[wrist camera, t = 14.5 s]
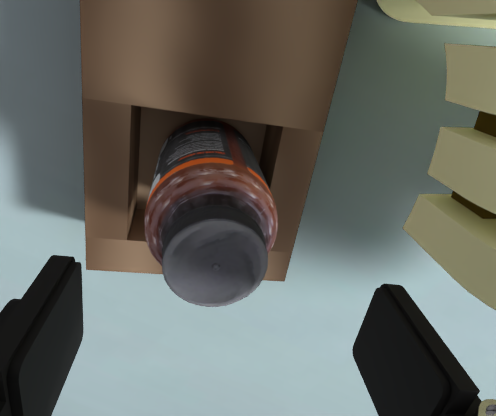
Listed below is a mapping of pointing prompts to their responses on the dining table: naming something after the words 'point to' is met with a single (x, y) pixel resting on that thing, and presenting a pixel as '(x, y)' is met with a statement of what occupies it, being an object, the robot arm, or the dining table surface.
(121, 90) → the socket block
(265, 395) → the dining table surface
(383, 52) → the dining table surface
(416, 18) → the slatted curved stool
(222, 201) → the supplement bottle
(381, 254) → the dining table surface
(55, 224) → the dining table surface
